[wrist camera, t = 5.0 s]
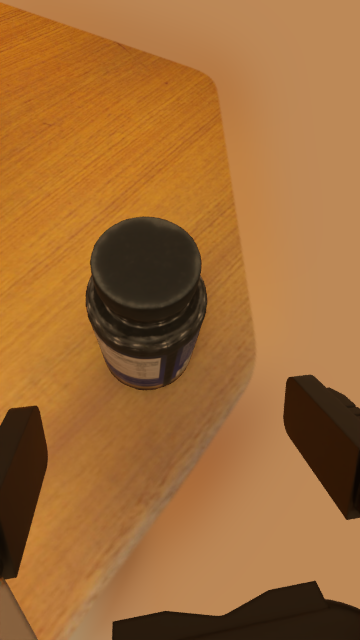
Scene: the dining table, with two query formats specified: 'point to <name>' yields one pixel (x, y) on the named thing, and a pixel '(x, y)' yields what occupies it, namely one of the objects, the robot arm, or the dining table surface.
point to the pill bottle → (146, 300)
